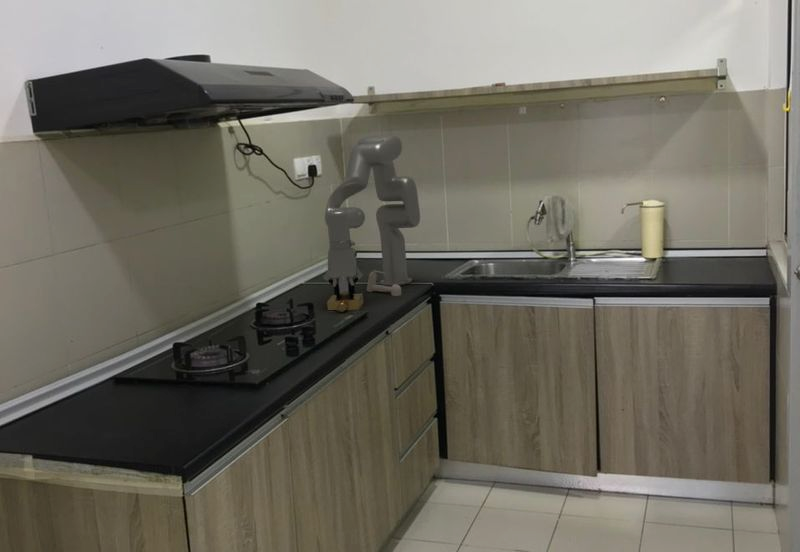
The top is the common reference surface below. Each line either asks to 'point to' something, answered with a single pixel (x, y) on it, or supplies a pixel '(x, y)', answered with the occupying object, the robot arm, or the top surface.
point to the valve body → (345, 303)
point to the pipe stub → (344, 287)
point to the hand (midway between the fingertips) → (345, 295)
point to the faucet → (372, 285)
